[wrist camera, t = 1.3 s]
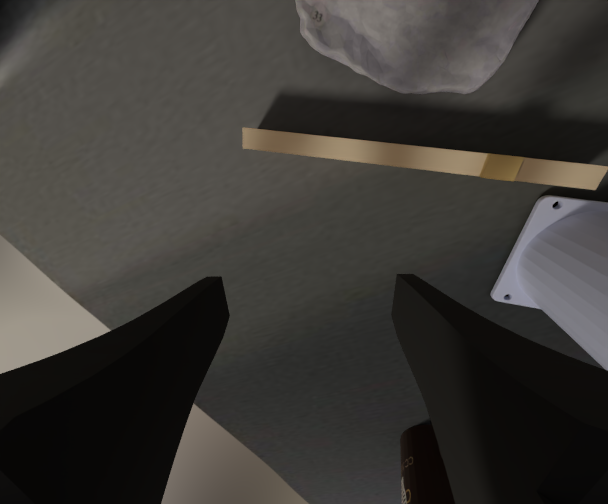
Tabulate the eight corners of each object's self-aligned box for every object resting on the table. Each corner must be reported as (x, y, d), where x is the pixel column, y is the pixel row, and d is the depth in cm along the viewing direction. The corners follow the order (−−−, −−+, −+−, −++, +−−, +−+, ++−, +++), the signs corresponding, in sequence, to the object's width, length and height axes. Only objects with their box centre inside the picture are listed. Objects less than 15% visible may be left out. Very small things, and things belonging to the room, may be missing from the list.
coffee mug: (445, 476, 30) (482, 622, 21) (376, 446, 30) (384, 578, 21) (514, 424, 24) (604, 590, 15) (430, 389, 25) (470, 532, 16)
